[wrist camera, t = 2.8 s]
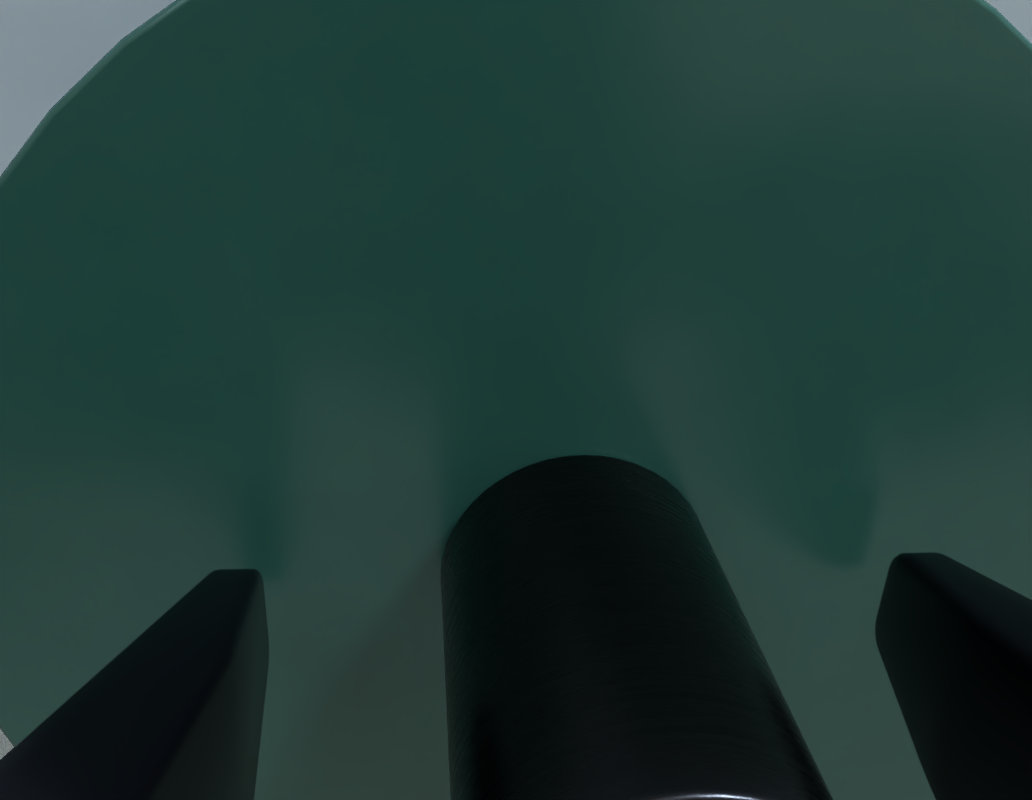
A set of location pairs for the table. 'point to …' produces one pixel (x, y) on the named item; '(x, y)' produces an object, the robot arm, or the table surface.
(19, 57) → the table surface
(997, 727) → the robot arm
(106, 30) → the table surface
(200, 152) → the lid
